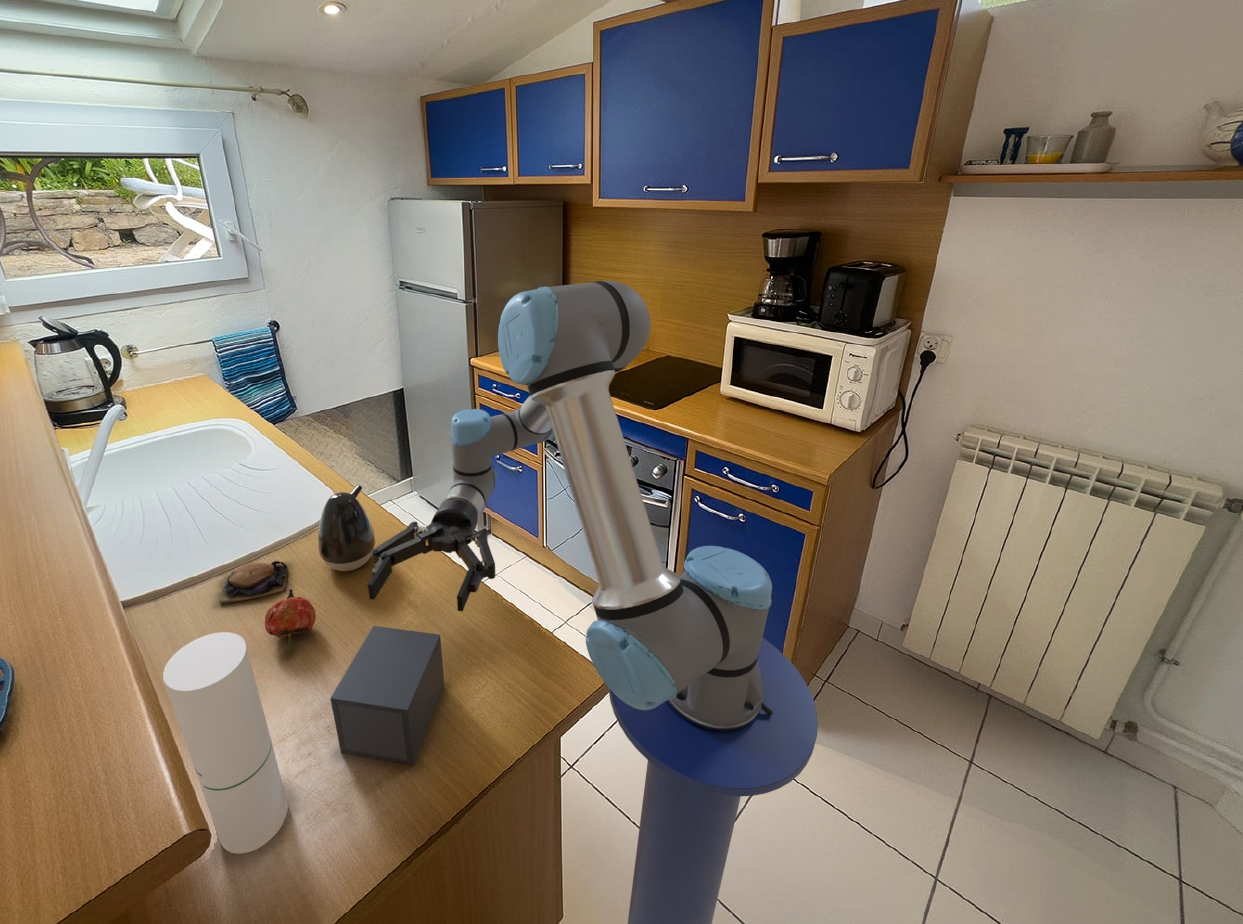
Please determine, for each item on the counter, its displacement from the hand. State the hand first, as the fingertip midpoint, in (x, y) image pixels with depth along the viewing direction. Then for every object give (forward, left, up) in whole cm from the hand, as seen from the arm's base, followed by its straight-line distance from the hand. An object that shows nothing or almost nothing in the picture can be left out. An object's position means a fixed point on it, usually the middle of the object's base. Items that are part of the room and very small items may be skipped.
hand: (414, 598), depth 81 cm
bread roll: (+36, -11, -13) cm, 40 cm away
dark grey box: (0, +10, -12) cm, 16 cm away
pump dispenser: (+22, -20, -13) cm, 32 cm away
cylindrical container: (+11, +25, -13) cm, 30 cm away
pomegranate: (+22, -1, -13) cm, 25 cm away
